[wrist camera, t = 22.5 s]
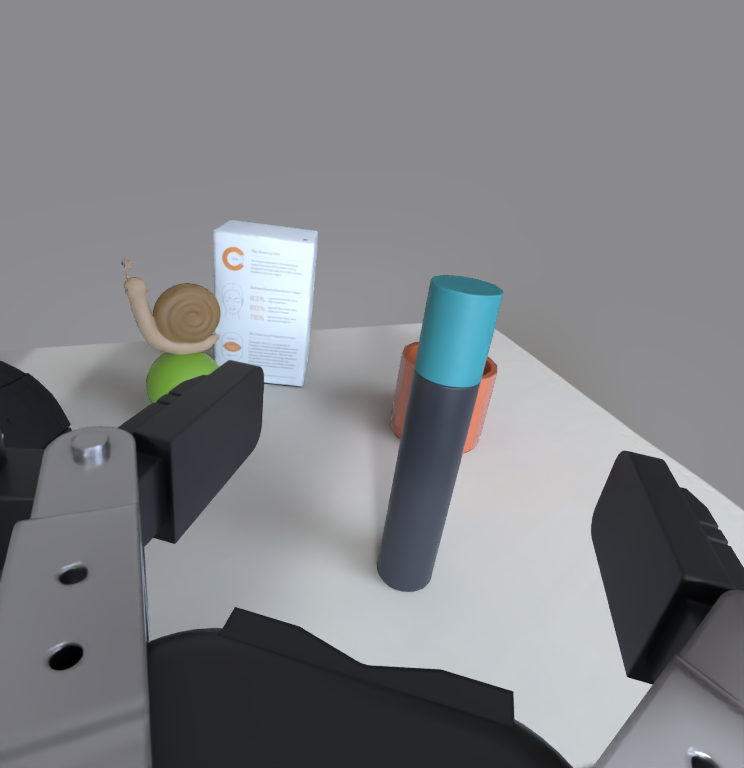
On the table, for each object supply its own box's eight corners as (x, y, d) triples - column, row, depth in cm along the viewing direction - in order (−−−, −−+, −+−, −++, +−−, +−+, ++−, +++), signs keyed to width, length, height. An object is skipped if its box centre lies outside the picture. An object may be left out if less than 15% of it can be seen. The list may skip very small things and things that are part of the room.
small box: (308, 360, 51) (320, 230, 45) (303, 388, 45) (316, 242, 40) (228, 352, 50) (229, 217, 45) (212, 379, 44) (212, 229, 39)
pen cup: (382, 441, 39) (395, 366, 36) (398, 401, 45) (410, 334, 43) (476, 464, 38) (497, 388, 35) (479, 419, 44) (497, 352, 42)
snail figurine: (127, 407, 38) (113, 250, 33) (210, 394, 42) (210, 250, 37) (143, 443, 34) (130, 271, 29) (233, 426, 38) (236, 270, 33)
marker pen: (371, 582, 26) (426, 285, 19) (383, 544, 29) (435, 271, 22) (427, 599, 26) (504, 300, 19) (433, 558, 28) (503, 283, 22)
